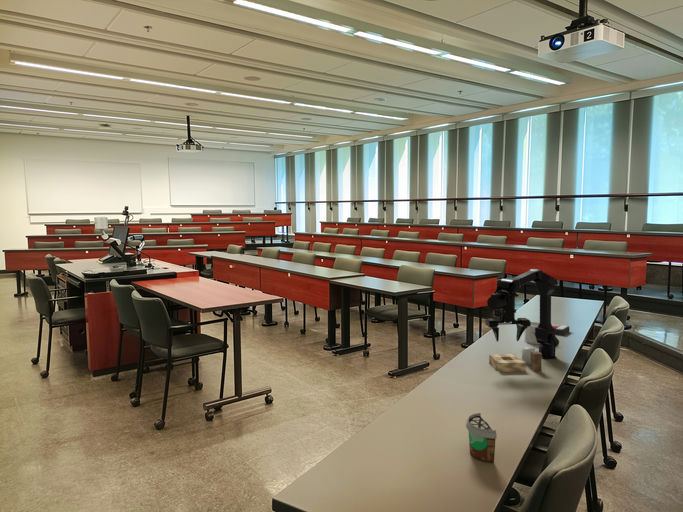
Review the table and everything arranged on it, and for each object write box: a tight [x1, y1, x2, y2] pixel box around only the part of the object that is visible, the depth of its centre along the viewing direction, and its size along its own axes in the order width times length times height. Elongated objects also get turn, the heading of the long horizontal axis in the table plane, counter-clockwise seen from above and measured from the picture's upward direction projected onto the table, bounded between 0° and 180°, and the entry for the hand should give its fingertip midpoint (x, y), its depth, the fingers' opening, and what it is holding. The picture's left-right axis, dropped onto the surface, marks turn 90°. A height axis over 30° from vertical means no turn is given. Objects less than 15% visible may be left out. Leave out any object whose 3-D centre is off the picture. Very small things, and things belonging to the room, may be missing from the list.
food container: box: [465, 412, 498, 464], centre depth 134 cm, size 12×6×10 cm, turn 5°
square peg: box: [529, 350, 543, 373], centre depth 204 cm, size 3×3×8 cm
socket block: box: [488, 353, 527, 373], centre depth 209 cm, size 12×12×4 cm
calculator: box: [551, 323, 570, 337], centre depth 268 cm, size 11×4×15 cm
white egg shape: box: [521, 346, 536, 366], centre depth 214 cm, size 6×6×7 cm
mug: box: [523, 321, 540, 345], centre depth 247 cm, size 14×11×10 cm
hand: (507, 341), depth 208 cm, fingers open, 9 cm apart
